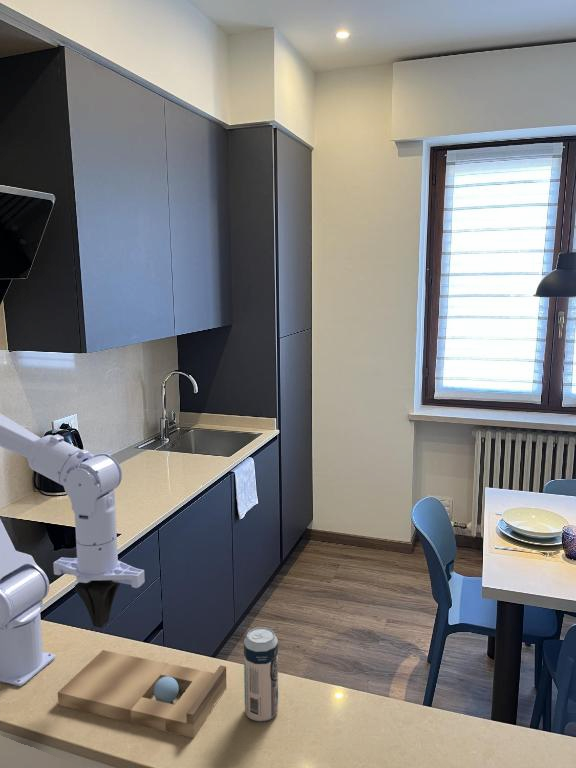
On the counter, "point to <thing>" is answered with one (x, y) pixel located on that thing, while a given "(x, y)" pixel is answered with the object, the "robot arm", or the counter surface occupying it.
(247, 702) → the beer can
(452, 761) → the counter surface
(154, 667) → the board
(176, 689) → the ball
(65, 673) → the counter surface
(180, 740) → the counter surface
